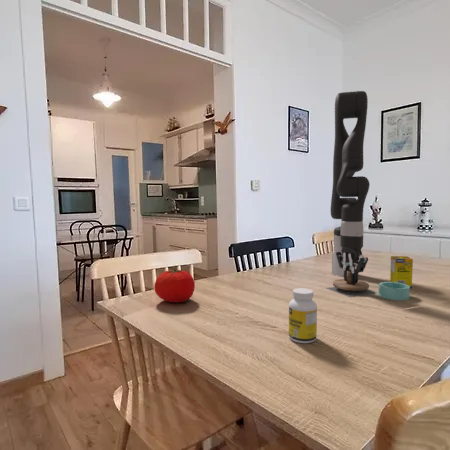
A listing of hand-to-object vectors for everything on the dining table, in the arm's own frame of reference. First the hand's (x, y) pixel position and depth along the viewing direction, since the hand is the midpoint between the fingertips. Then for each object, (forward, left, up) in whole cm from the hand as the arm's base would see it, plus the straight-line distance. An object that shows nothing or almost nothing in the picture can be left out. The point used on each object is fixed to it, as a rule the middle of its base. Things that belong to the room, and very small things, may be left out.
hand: (350, 281), depth 117 cm
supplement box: (+2, +22, -4) cm, 22 cm away
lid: (0, 0, -1) cm, 1 cm away
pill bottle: (+26, -39, -4) cm, 47 cm away
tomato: (-15, -60, -4) cm, 62 cm away
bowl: (+11, +8, -3) cm, 14 cm away
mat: (0, 0, -3) cm, 3 cm away
